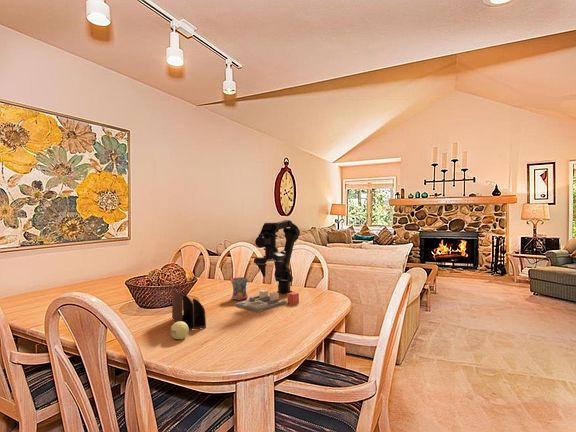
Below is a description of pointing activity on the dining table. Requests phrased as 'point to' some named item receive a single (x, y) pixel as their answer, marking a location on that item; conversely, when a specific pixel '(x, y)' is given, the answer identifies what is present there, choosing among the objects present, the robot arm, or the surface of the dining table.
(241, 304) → the breaker panel
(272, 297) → the switch
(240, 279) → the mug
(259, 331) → the dining table surface
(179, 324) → the tennis ball
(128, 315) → the dining table surface
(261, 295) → the switch
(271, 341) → the dining table surface
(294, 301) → the red block
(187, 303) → the letter holder
